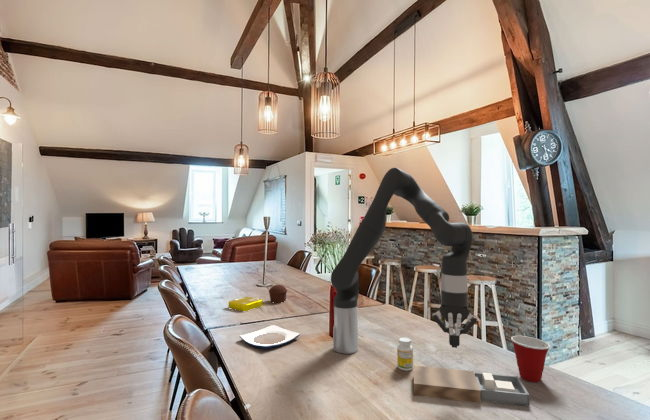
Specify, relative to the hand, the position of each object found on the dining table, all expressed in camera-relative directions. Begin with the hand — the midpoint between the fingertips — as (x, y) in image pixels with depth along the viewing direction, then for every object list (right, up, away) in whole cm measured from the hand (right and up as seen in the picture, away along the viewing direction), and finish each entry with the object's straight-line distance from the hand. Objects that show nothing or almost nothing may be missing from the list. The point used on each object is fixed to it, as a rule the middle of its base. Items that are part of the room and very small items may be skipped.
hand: (454, 346), depth 102 cm
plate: (-62, -15, +44) cm, 78 cm away
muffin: (-68, -16, +108) cm, 129 cm away
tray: (+13, -13, -2) cm, 18 cm away
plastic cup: (+27, -13, +6) cm, 30 cm away
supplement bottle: (-11, -14, +16) cm, 23 cm away
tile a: (+8, -10, -2) cm, 13 cm away
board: (-2, -13, +1) cm, 13 cm away
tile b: (+13, -10, -4) cm, 17 cm away
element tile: (-85, -16, +97) cm, 130 cm away
